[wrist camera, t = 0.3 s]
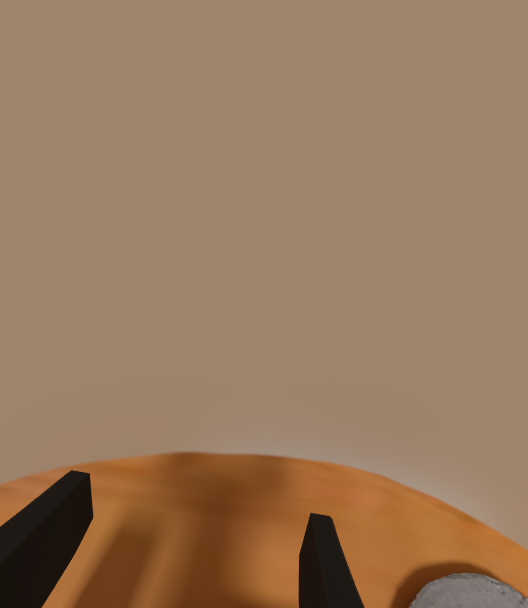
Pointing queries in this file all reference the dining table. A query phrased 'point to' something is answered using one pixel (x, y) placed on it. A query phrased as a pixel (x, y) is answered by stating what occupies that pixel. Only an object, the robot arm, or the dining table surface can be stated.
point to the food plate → (468, 593)
